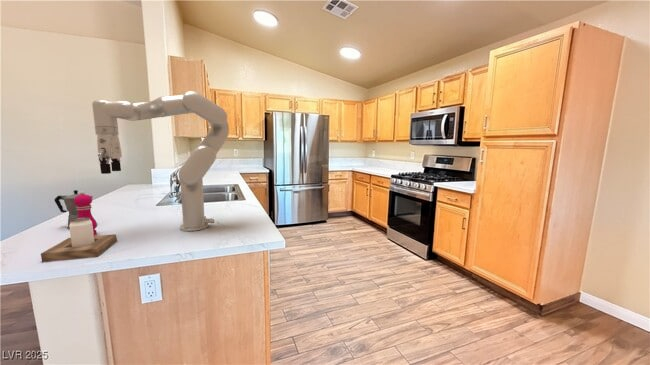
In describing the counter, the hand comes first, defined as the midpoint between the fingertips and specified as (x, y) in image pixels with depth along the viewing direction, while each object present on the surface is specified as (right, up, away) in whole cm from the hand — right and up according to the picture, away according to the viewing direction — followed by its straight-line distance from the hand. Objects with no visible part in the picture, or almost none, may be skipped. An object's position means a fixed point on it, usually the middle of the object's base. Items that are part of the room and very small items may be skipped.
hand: (111, 172), depth 114 cm
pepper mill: (-14, -28, +4) cm, 32 cm away
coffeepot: (-29, -26, +16) cm, 42 cm away
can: (-2, -31, -11) cm, 32 cm away
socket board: (-2, -30, -12) cm, 33 cm away
